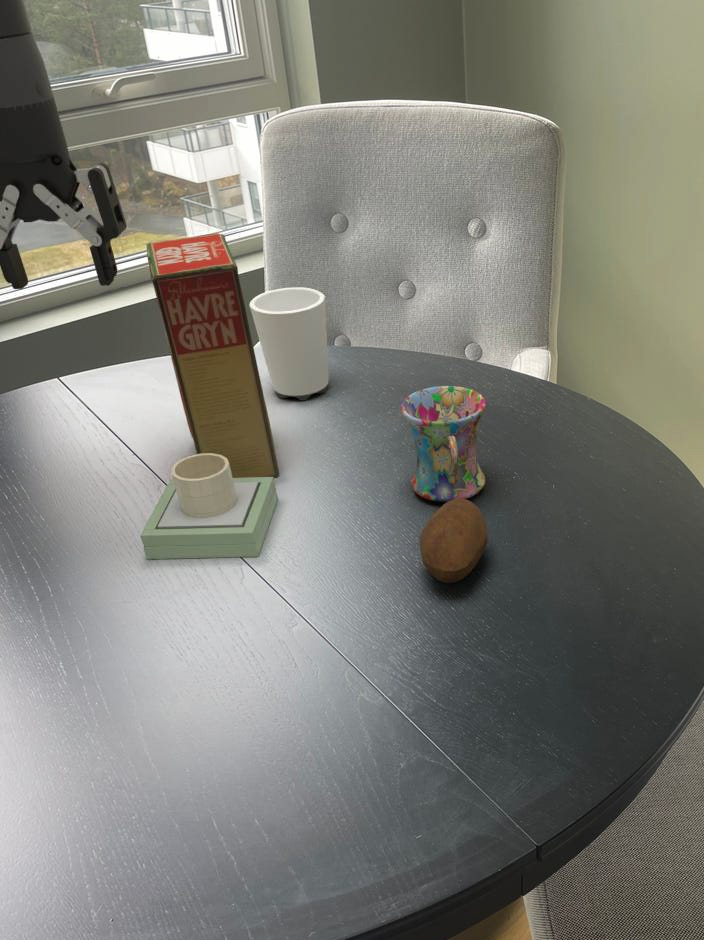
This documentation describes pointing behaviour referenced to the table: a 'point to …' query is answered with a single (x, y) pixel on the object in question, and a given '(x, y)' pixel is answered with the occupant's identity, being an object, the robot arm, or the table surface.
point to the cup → (293, 339)
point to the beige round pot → (204, 485)
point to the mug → (445, 441)
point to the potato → (453, 540)
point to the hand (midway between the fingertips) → (64, 285)
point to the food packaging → (213, 351)
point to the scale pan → (228, 519)
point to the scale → (212, 529)
